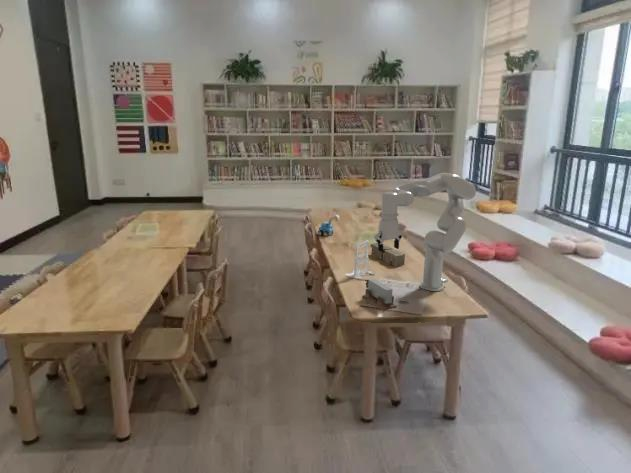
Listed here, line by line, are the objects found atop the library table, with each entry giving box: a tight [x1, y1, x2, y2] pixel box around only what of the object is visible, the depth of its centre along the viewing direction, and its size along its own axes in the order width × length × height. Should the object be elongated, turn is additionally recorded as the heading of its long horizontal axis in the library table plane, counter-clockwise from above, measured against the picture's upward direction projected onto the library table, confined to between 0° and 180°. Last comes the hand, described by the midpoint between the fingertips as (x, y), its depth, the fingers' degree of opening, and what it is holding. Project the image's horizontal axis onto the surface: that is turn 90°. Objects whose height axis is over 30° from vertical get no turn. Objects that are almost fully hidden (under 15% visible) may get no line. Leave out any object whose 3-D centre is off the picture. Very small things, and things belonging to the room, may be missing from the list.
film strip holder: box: [344, 239, 376, 281], centre depth 267 cm, size 14×14×20 cm
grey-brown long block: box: [370, 242, 406, 268], centre depth 298 cm, size 8×8×29 cm
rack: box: [361, 288, 397, 311], centre depth 230 cm, size 8×18×5 cm, turn 26°
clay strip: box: [367, 278, 393, 304], centre depth 229 cm, size 4×16×7 cm, turn 26°
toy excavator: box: [317, 214, 340, 238], centre depth 355 cm, size 9×17×17 cm, turn 57°
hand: (388, 249), depth 233 cm, fingers open, 9 cm apart
